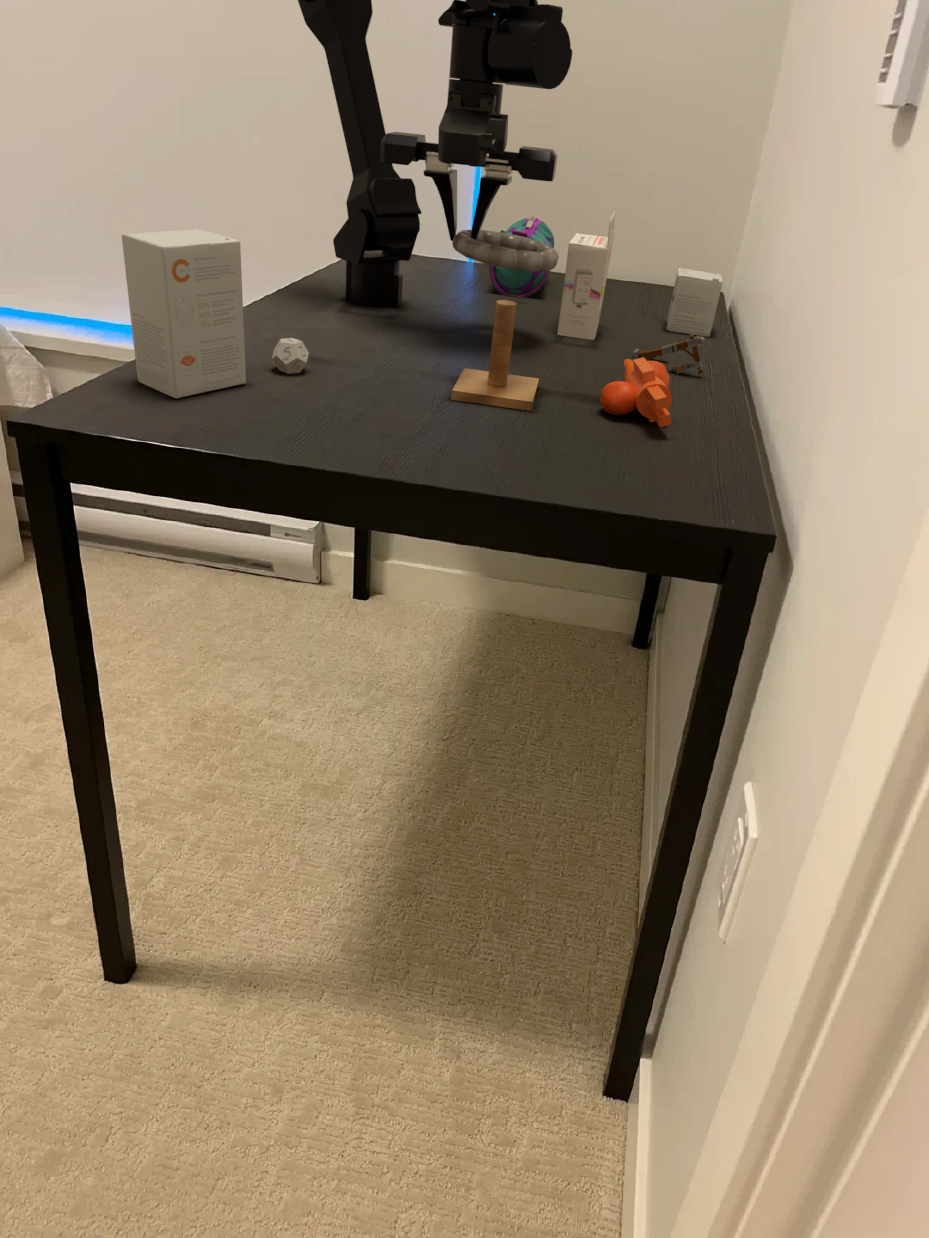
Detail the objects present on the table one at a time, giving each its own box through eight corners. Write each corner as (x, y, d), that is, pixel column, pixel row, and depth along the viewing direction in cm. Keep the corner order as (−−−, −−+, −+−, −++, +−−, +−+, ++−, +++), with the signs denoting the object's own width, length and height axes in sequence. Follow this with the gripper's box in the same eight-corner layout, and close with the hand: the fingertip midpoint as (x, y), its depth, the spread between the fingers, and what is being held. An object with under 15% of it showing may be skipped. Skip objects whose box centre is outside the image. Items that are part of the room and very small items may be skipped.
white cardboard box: (666, 321, 126) (677, 267, 122) (709, 328, 125) (722, 273, 121) (665, 331, 121) (677, 274, 117) (710, 337, 120) (724, 281, 116)
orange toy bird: (689, 379, 80) (657, 343, 90) (608, 398, 81) (586, 361, 91) (694, 430, 83) (663, 390, 93) (616, 449, 84) (593, 407, 94)
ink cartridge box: (561, 327, 117) (578, 206, 110) (598, 332, 117) (618, 211, 109) (553, 342, 110) (572, 214, 102) (593, 348, 109) (614, 219, 102)
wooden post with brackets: (709, 372, 101) (702, 333, 100) (641, 388, 105) (633, 350, 103) (711, 369, 103) (704, 330, 101) (644, 384, 106) (636, 347, 105)
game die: (281, 377, 88) (280, 347, 86) (267, 366, 91) (266, 336, 89) (314, 374, 90) (314, 344, 88) (299, 364, 92) (299, 335, 91)
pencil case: (495, 273, 144) (502, 209, 139) (549, 280, 144) (558, 216, 139) (484, 300, 127) (491, 228, 122) (545, 307, 126) (555, 235, 121)
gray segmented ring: (444, 257, 96) (447, 237, 95) (460, 241, 106) (463, 223, 105) (553, 279, 96) (557, 260, 94) (558, 261, 106) (562, 243, 105)
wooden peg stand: (451, 400, 87) (459, 305, 82) (463, 377, 94) (471, 289, 89) (531, 411, 86) (544, 317, 82) (538, 387, 93) (550, 299, 89)
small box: (207, 368, 88) (199, 227, 81) (247, 384, 85) (242, 240, 78) (134, 381, 83) (119, 232, 76) (175, 400, 80) (162, 245, 73)
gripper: (371, 71, 86) (365, 242, 94) (561, 91, 85) (539, 263, 93) (394, 73, 96) (388, 228, 104) (566, 91, 94) (546, 247, 102)
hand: (462, 241), depth 100 cm, fingers closed on gray segmented ring, 2 cm apart
